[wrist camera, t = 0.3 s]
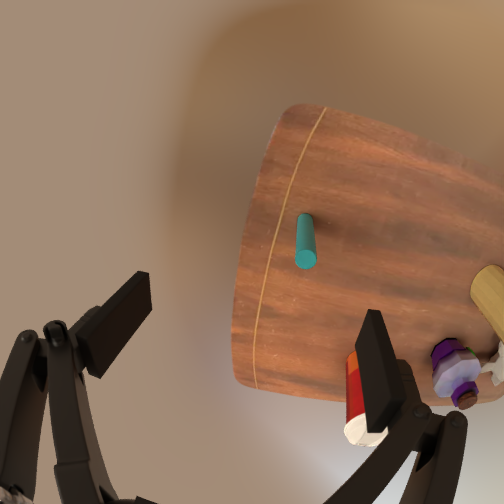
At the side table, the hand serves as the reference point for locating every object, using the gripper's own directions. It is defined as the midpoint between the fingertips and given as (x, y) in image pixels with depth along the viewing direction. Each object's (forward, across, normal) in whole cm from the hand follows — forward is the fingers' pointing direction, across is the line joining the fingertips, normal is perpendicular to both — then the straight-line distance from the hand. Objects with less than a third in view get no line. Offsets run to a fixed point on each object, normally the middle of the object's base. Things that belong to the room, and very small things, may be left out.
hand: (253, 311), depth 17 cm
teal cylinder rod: (+19, +3, 0) cm, 20 cm away
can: (+20, +33, -4) cm, 38 cm away
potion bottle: (+20, +30, -17) cm, 40 cm away
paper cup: (+20, +16, -20) cm, 33 cm away
